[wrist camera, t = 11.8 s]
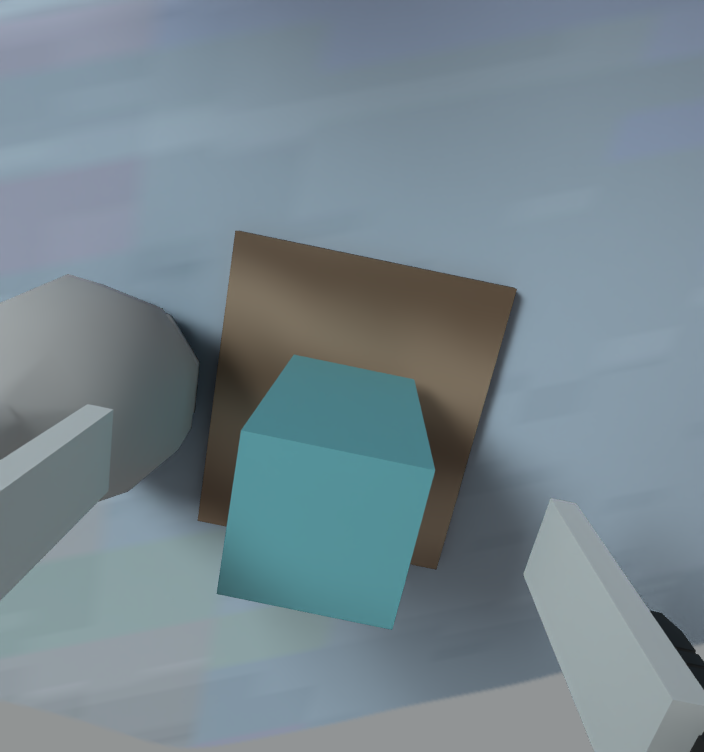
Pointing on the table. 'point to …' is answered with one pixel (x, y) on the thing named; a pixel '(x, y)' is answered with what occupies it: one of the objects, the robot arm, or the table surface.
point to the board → (355, 353)
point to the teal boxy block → (328, 493)
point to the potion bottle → (96, 372)
